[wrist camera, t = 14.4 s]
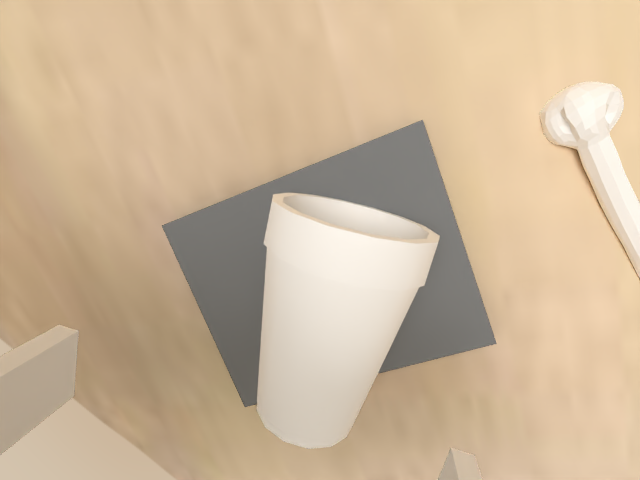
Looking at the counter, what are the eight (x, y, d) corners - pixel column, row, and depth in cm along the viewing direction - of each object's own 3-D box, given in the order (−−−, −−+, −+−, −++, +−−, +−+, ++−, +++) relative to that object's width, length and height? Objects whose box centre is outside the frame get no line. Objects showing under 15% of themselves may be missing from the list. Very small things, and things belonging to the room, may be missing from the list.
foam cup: (310, 352, 30) (349, 198, 27) (404, 428, 24) (469, 240, 21) (203, 387, 23) (237, 187, 20) (295, 506, 17) (365, 246, 14)
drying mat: (249, 399, 31) (245, 407, 30) (169, 223, 29) (161, 225, 28) (492, 336, 26) (496, 343, 25) (420, 121, 24) (422, 119, 23)
